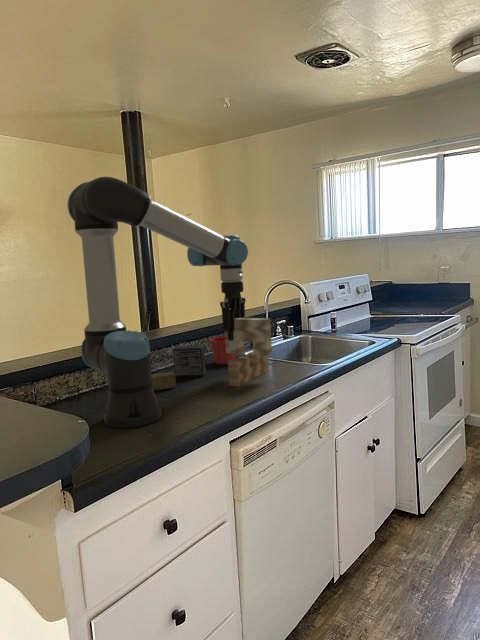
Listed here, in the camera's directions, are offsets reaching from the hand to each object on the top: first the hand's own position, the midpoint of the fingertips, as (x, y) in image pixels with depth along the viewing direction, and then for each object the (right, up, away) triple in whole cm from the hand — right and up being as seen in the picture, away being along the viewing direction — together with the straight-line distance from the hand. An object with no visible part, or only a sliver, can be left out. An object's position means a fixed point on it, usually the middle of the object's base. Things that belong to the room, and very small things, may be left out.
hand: (235, 348), depth 169 cm
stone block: (-26, -13, -8) cm, 30 cm away
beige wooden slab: (+4, -2, -2) cm, 5 cm away
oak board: (+5, -10, -1) cm, 11 cm away
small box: (-17, -10, +8) cm, 21 cm away
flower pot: (-4, -7, +25) cm, 26 cm away
